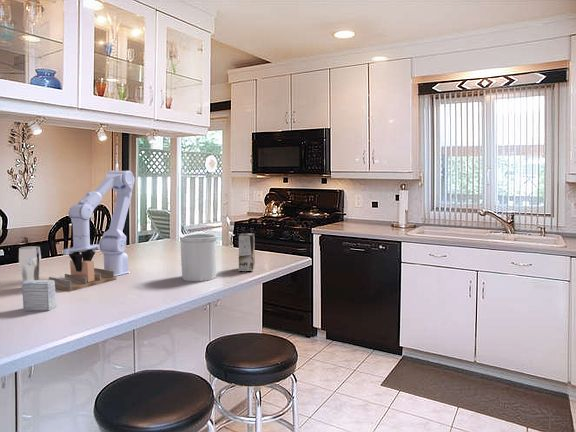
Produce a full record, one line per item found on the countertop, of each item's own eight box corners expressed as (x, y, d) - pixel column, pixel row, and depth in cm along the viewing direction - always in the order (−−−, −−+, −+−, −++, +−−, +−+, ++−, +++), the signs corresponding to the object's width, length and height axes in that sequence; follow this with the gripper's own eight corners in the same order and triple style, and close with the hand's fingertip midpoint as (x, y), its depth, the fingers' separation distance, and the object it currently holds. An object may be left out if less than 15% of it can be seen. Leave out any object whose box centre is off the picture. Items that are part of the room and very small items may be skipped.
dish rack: (94, 275, 178) (94, 267, 178) (116, 279, 172) (116, 270, 172) (47, 286, 160) (46, 277, 160) (70, 291, 154) (69, 281, 154)
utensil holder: (209, 283, 168) (209, 238, 166) (174, 280, 171) (173, 237, 169) (222, 274, 182) (222, 233, 181) (189, 272, 185) (189, 232, 184)
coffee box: (253, 272, 187) (253, 235, 186) (238, 272, 187) (238, 235, 186) (255, 267, 196) (255, 232, 195) (241, 267, 197) (240, 232, 195)
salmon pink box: (94, 280, 165) (93, 261, 165) (88, 282, 163) (87, 262, 162) (77, 278, 170) (76, 259, 169) (70, 279, 167) (70, 260, 167)
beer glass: (17, 290, 154) (15, 249, 153) (23, 286, 161) (21, 246, 160) (39, 289, 156) (37, 248, 155) (44, 285, 163) (42, 245, 161)
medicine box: (56, 306, 136) (55, 279, 135) (49, 311, 132) (48, 283, 131) (31, 306, 136) (29, 279, 135) (22, 311, 131) (21, 283, 131)
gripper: (90, 232, 173) (91, 266, 174) (57, 237, 160) (58, 273, 161) (102, 233, 170) (103, 267, 171) (69, 238, 157) (70, 275, 158)
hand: (82, 270), depth 166 cm, fingers closed on salmon pink box, 3 cm apart
